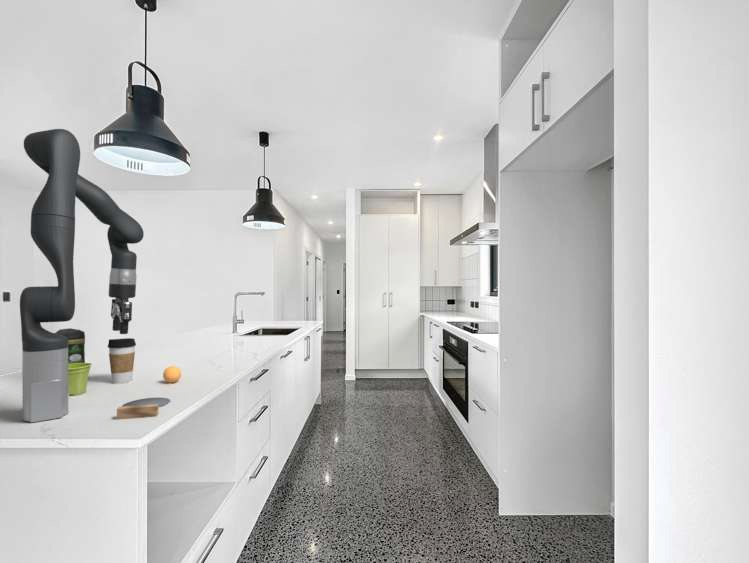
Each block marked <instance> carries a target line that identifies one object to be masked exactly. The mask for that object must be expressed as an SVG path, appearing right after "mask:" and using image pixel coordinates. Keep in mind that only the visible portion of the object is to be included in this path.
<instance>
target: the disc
mask: <svg viewBox="0 0 749 563" xmlns="http://www.w3.org/2000/svg"><path fill="white" fill-rule="evenodd" d="M169 402H170V403H171V399H170V398H168V397H146V398H141V399H135V400H130V401H128V402H125V403H123V405H121V407H123V406H136V405H150V404H159V408H161V407H164V405H165V406H166V404H167V405H169V404H170V403H169ZM168 403H169V404H168Z"/></svg>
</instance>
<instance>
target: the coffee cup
mask: <svg viewBox="0 0 749 563" xmlns="http://www.w3.org/2000/svg"><path fill="white" fill-rule="evenodd" d="M136 346H137V344H136V340H135V338H131V337H130V338H128V337H126V338H115V339H114V338H113V339H110V338H109V339H108V344H107V348H108V349H109V350H108V352H109V353H108V356H109V357H108V358H109V365H110V374H111V383H112V384H113V383H122V384H126V383H125V382H128V383H130V382H129V381H131V382H132V381H133V375H134V374H133V372H134V365H135V355H136V354H135V353H136V352H135V349H136V348H135V347H136Z"/></svg>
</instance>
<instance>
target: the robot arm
mask: <svg viewBox="0 0 749 563" xmlns="http://www.w3.org/2000/svg"><path fill="white" fill-rule="evenodd" d="M23 149H24V151H25V153H26V155H27V156H28V158H29V159H30V160H31V162H33V163H34V164H35V165H36V166H38V167H39V168H40V169H41V170H42V171H43V172H45V173H46V174H47V175H48V177H47V180H46V182H45V184H44V186H43V188H42V189H41V191H40V193H39V195H38V196H37V198H36V200H35V202H34V203H33V206H32V208H31V215H30V237H31V239H32V241H33V242H34V244H35V245H36V246H37V248H38V249H39V251H40V252H41V253H42V254H43V255H44V257H45V258H46V259H47V261H48V262H49V263H50V266H51V267H52V268H53V270H54V272H55V275H56V278H57V286H53V285H51V286H26V287H25V288H23V290H22V291H21V293H20V296H19V313H20V316H19V317H20V327H21V331H20V332H21V343H22V344H21V346H22V347H21V349H22V355H21V356H22V357H21V358H22V361H21V362H22V366H21V367H22V368H21V369H22V373H21V374H22V376H21V377H22V382H21V383H22V420H23V421H24V422H30V423H36V422H37V423H38V422H43V421H47V420H54V419H59V418H60V419H61V418H63V416H66V415H68V414H69V410H70V409H69V396H68V338H67V337H66V336H63V335H59V334H55V333H56V332H55V333H54V332H51V331H49V330H48V329H45V328H44V327H43V326H42V324H41V323H61V322H69V321H71V320H72V319H73V317H74V315H75V310H76V295H75V294H76V292H75V272H74V270H75V269H74V253H75V250H74V249H75V236H76V235H75V234H76V198H77V199H78V200H79V201H80V202H81V203H82V204H83V205H84V206H85V207H86V208H87V209H88V211H89V212H90V213H92V215H93V216H94V217H95V218H96V219H97V220H98V221H99V222H100V223H102V224H104V225H107V226H109V227H108V228H107V234H106V235H107V242H108V246H109V250H110V254H111V263H110V272H109V280H108V281H109V283H108V297H109V298H112V299H111V310H110V311H111V312H110V317H111V319H112V331H114V332H116V331H117V332H119V334H120V335H128V333H129V323H130V322H132V315H133V314H132V312H133V302H132V301H129V299H134V298H136V290H137V253H136V252H133V251H131V250H130V249H129V246H128V244H133V245H135V244H138V243H141V242H142V240H143V238H144V230H143V227H142V226H141V224H140V223H139V222H138V221H137V220H136V219H135V218H133V217H132V216H131V215H129V213H127V212H125V211H124V210H122V208H120V207H119V205H118V204H117V203H116V202H115V200H113V198H112V197H111V196H110V195H109V193H108V192H106V190H104V189H102V188H101V187H100V186H98V185H97V184H95V183H93V182H92V181H90V180H89V179H87V178H85V177H84V176H82V175H80V174H79V169H80V164H81V163H80V162H81V147H80V143H79V141H78V139H77V137H76V136H75V135H74V134H73V133H72V132H71V131H69V130H67V129H64V128H51V129H48V130H43V131H42V130H41V131H35V132H32V133H28V135H26V136H25V137H24V140H23Z"/></svg>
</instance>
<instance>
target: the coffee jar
mask: <svg viewBox="0 0 749 563" xmlns="http://www.w3.org/2000/svg"><path fill="white" fill-rule="evenodd" d="M55 334H59V335H63V336H66V337H67V338H68V364H74V363H86V359H85V357H86V356H85V354H86V352H85V342H86V334H85V331H84V330H81V329H77V328H76V329H75V328H63V329H58V330H57V331H56V332H55Z"/></svg>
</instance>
